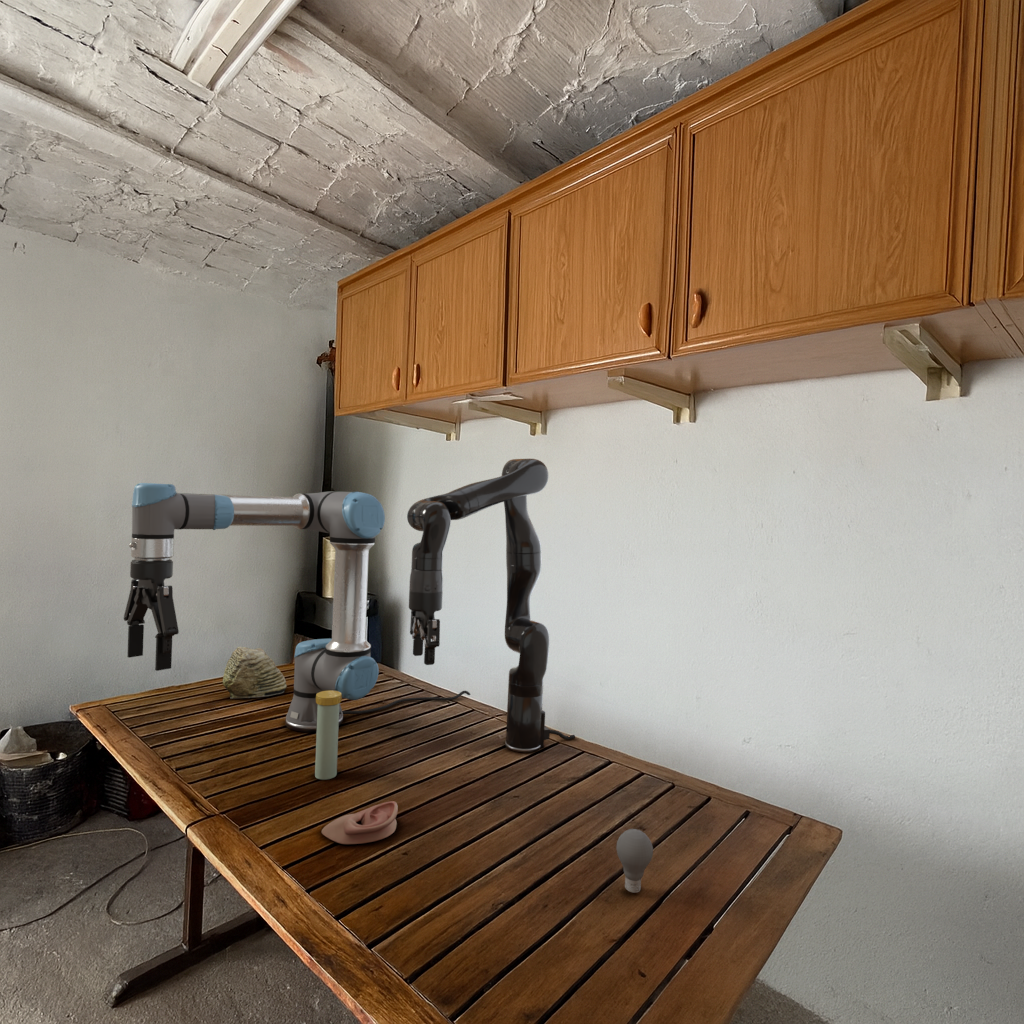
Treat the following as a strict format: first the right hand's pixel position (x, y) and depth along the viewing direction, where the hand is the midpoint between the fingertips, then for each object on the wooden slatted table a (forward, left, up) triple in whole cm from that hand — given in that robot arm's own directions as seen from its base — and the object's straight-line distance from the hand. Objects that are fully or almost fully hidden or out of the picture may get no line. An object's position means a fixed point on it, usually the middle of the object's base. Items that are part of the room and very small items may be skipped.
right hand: (423, 659), depth 144 cm
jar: (+19, -9, -27) cm, 34 cm away
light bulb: (-20, +53, -27) cm, 63 cm away
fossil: (+30, -74, -27) cm, 84 cm away
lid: (+19, -9, -9) cm, 23 cm away
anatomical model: (+17, +18, -27) cm, 37 cm away
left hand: (+55, -10, +1) cm, 56 cm away
